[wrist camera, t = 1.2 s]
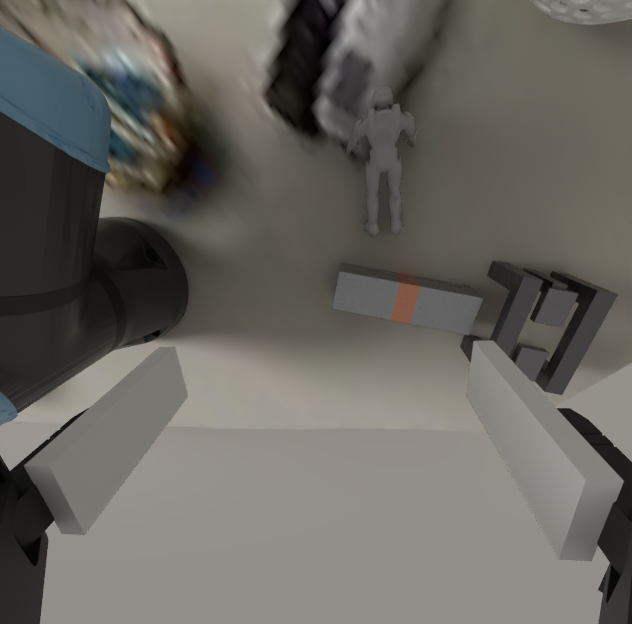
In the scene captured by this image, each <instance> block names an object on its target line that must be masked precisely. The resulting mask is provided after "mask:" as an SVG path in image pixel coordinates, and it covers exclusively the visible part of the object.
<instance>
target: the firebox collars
mask: <svg viewBox="0 0 632 624" xmlns="http://www.w3.org/2000/svg"><path fill="white" fill-rule="evenodd" d="M487 276H489V277H490V278H492V279H493V280H495V281H496V282H498V283H499V284H501V285H502V286H504V287H505V288H507V289H508V290H510V292H509V295H508V297H507V300H506V302H505V304H504V307H503V309H502V312H501V314H500V316H499V319H498V321H497V324H496V326H495V328H494V331H493V333H492V336H491V338H490V340H489V341H494V342H495V343H496V344H497V345H498V346H499V347H500V348H501V350H502V351H503V352H504V353H505V354H506V355H507V356H508V357H509V358H510V359H511V360H512V361H513V362H514V363H515V365H516V366H517V367H518V368H519V369H520V370H521V371H522V372H523V373H524V374H525V375H526V376H527V377H528V379H529V380H530V381H533V382H534V381H535V382H536V383H537V384H538V385H539V386H540V387H541V388H542V389H543V390H544V391H545V392H550V393H555V394H560V395H562V394H563V392H564V390H565V389H566V387H567V385H568V383H569V381H570V380H571V378H572V376H573V374H574V372H575V371H576V369H577V367H578V365H579V363H580V362H581V360H582V358H583V356H584V354H585V353H586V351H587V349H588V347H589V345H590V344H591V342H592V340H593V338H594V336H595V335H596V333H597V331H598V329H599V327H600V326H601V324H602V322H603V320H604V318H605V317H606V315H607V313H608V311H609V309H610V308H611V306H612V304H613V302H614V301H615V299H616V297H617V295H618V294H616V293H613V292H611V291H608V290H606V289H604V288H601V287H599V286H596V285H594V284H591V283H589V282H586V281H584V280H581V279H579V278H576V277H574V276H572V275H569V274H564V273H559V272H553V271H552V273H551V276H550V277H549V276H547V275H545V274H542V273H540V272H538V271H536V270H531V269H525V268H524V269H523V270H521V269H519V268H517V267H515V266H513V265H511V264H509V263H503V262H498V261H493V262H492V264H491V267H490V270H489V272H488V275H487ZM539 291H541V292H542V293H541V295H540V297H539V299H538V302H537V304H536V306H535V308H534V310H533V313H532V315H531V317H530V319H531V320H532V321H533V322H536V323H541V324H546V325H552V326H557V327H562V326H563V324H564V322H565V320H566V318H567V316H568V314H569V312H570V310H571V308H572V306H573V304H574V302H577V303H579V305H578V307H577V309H576V311H575V313H574V315H573V317H572V319H571V321H570V323H569V325H568V327H567V329H566V331H565V333H564V334H563V336H562V338H561V340H560V342H559V344H558V346H557V348H556V350H555V352H554V354H553V356H552V358H551V360H550V362H548V361H547V360H546V358H547V356H548V354H549V352H547V351H546V350H545V349H543V348H538V347H533V346H528V345H523V344H518V345H517V348H516V350H515V352H514V354H513V353H512V352H511V351H512V349H513V347H514V345H515V343H516V340H517V338H518V336H519V334H520V332H521V329H522V327H523V325H524V323H525V320H526V318H527V316H528V314H529V312H530V309H531V307H532V305H533V303H534V301H535V298H536V296H537V294H538V292H539ZM474 341H482V340H481V339H480V338H479V337H476V336H470V335H465V336H464V338H463V341H462V343H461V346H460V347H461V349H462V350H463V352H464V353H465V355H466V356H467V358H468V359H469V361H470V363H471V357H472V349H473V342H474Z"/></svg>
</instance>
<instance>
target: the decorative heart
mask: <svg viewBox="0 0 632 624" xmlns="http://www.w3.org/2000/svg"><path fill="white" fill-rule="evenodd" d="M529 1H530V2H532V3H533V4H534V5H535V6H536V7H538V8H539V9H540V10H541V11H543V12H544V13H546V14H547V15H549V16H550V17H552V18H554V19H557V20H560V21H563V22H566V23H570V24H582V25H598V24H605V23H613V22H620V21H624V20H629V19H632V0H529ZM560 2H562V4H561V3H560ZM582 9H586V10H588V11H586V12H582V11H579V10H582Z"/></svg>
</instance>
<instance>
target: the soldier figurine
mask: <svg viewBox="0 0 632 624" xmlns="http://www.w3.org/2000/svg"><path fill="white" fill-rule="evenodd" d="M392 105H393V108H392V109H389V108H390V107H392ZM372 107H373V108H369V109H368V117H366V118H365V119H364V120H363V119H359V120H358V121H357V122H356V123H355V124H354V126H353V130H352V134H351V137H349V139H348V141H347V144H348V147H347V148H346V149H347V155H348V156H349V155H350V153H351V150H352V152H354V150H353V148H356V149H357V145H358V144H359V140H360V139H361V138H362V137H363V136H364V135H367V137H368V141H369V143H370V145H371V146H372V150H370V151H369V153H370V160H369V161H368V160H367V161H366V172H365V178H366V185H367V192H368V194H367V211H368V222H367V223H366V224H365V228H364V230H365V231H368V234H369V235H370V236H377V235H379V234H380V233H379V227H378V223H377V221H378V212H379V198H378V193H377V192H378V190H379V187H380V184H379V182H380V176H381V172H386V175H387V180H388V182H387V186H388V188H389V199H388V206H389V209H390V213H391V219H392V220H391V224H390V233H392V234H397V233H400V232H401V227H403V226H404V225H403V221H402V220H401V213H400V210H401V206H402V199H401V196H400V191H399V189H400V181H401V180H402V164H401V156H398V157H397V150H398V148H397V147H396V146H395V143H396V142H397V140H398V137H399V135H400V131H401V130H403V131H404V133H405V137H406V138H405V139H404V142H405V141H406V140H408V142H407V144H408V143H409V141H410V145H411V143H412V145H411V146H413V147H414V145H415V139H416V138H415V137H416V136H417V129H416V128H415V125H414V123H415V122H414V117H413V115H411V114H410V113H408V112H403V113H404V114H403V113H402V112H400V104H393V95H392V92H391V90H390V87H389V86H380V87H378V88H376V89H375V92H374V93H373V103H372ZM375 110H377V111H375ZM349 152H350V153H349Z"/></svg>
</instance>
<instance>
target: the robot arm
mask: <svg viewBox="0 0 632 624" xmlns="http://www.w3.org/2000/svg"><path fill="white" fill-rule="evenodd" d="M110 127H111V112H110V108H109V105H108V102H107V100H106V98H105V96H104V95H103V93H102V92H101V91H100V89H99V88H98V87H97V86H96V85H95V84H94V83H93V82H92V81H91V80H90V79H88V78H87V77H86V76H84V75H83V74H81V73H80V72H78V71H76V70H75V69H73V68H71V67H70V66H68V65H66V64H65V63H63V62H61V61H60V60H58V59H56V58H54V57H53V56H51V55H49V54H48V53H46V52H44V51H42V50H41V49H39V48H37V47H36V46H34V45H32V44H31V43H29V42H27V41H25V40H24V39H22V38H20V37H18V36H17V35H15V34H13V33H11V32H10V31H8V30H6V29H4V28H3V27H1V26H0V425H2V424H4V423H6V422H9V421H12V420H13V419H14V418H16V417H17V416H18V415H17V414H18V413H19V412H21V411H22V410H24V409H25V408H27V407H28V406H30V405H31V404H33V403H34V402H36V401H37V400H39V399H40V398H42V397H43V396H45V395H46V394H48V393H49V392H51V391H52V390H54V389H55V388H57V387H58V386H60V385H62V384H63V383H65V382H66V381H68V380H69V379H71V378H72V377H74V376H75V375H77V374H78V373H80V372H81V371H83V370H84V369H86V368H87V367H89V366H90V365H92V364H93V363H95V362H96V361H98V360H99V359H101V358H102V357H104V356H105V355H107V354H108V353H110V352H111V351H113V350H117V349H121V348H126V347H130V346H135V345H139V344H143V343H147V342H151V341H153V340H155V339H157V338H159V337H161V336H163V335H164V334H165V333H167V332H168V331H169V330H171V329H172V328H173V327H174V326H175V325H176V324H177V323H178V322H179V321H180V320H181V318H182V316H183V314H184V312H185V310H186V306H187V302H188V283H187V278H186V274H185V271H184V269H183V266H182V264H181V262H180V260H179V258H178V256H177V255H176V253H175V252H174V250H173V249H172V248H171V246H170V245H169V244H168V243H167V242H166V241H165V240H164V239H163V238H162V237H161V236H160V235H159V234H157V233H156V232H155V231H153V230H152V229H150V228H149V227H147V226H145V225H144V224H142V223H139V222H137V221H134V220H131V219H127V218H122V217H107V218H99V213H100V206H101V200H102V193H103V187H104V180H105V174H106V173H108V172H109V170H110V165H109V163H108V162H107V160H108V149H109V138H110ZM466 396H467V398H468V399H469V401H470V403H471V405H472V407H473V408H474V410H475V412H476V414H477V415H478V417H479V419H480V421H481V423H482V424H483V426H484V428H485V430H486V431H487V433H488V435H489V436H490V439H491V440H492V442H493V444H494V446H495V447H496V449H497V451H498V453H499V455H500V456H501V458H502V460H503V462H504V463H505V465H506V467H507V469H508V471H509V472H510V474H511V476H512V478H513V479H514V481H515V483H516V485H517V486H518V488H519V490H520V492H521V493H522V495H523V497H524V499H525V501H526V502H527V504H528V506H529V508H530V509H531V511H532V513H533V515H534V517H535V518H536V520H537V522H538V524H539V526H540V527H541V529H542V531H543V533H544V534H545V536H546V538H547V540H548V542H549V543H550V545H551V547H552V549H553V550H554V552H555V554H556V556H557V557H558V559H561V560H563V559H564V560H580V561H582V560H583V561H592V559H593V556H594V554H595V551H596V549H597V546H599V547H600V549H601V550H602V551H603V553H604V554H605V556H606V557H607V559H608V560H609V562H610V564H609V566H608V569H607V571H606V573H605V575H604V578H603V580H602V582H601V584H600V587H599V589H598V590H599V591H601V592H603V598H602V604H601V611H600V617H599V624H632V462H631V461H630V460H629V459H628V458H627V457H626V456H625V455H624V454H623V453H622V452H621V451H620V450H619V449H618V448H617V447H614V446H613V443H612V442H611V441H610V440H609V439H608V438H607V437H605V436H603V435H602V433H601V432H600V431H599V430H598V429H597V428H596V427H595V426H594V425H593V424H592V423H591V422H590V421H589V420H588V419H586V418H585V417H583V416H581V415H580V414H578V413H576V412H575V411H573V410H571V409H567V408H562V409H561V408H555V406H554V405H553V404H552V403H551V402H550V401H549V400H548V399H547V398H546V397H545V396H544V395H543V394H542V393H541V391H540V390H539V389H538V388H537V387H536V386H535V385H534V384H533V383H532V382H531V381H530V380H529V379H528V377H527V376H526V375H525V374H524V373H523V372H522V371H521V370H520V369H519V368H518V367H517V366H516V365H515V363H514V362H513V361H512V360H511V359H510V358H509V357H508V356H507V355H506V354H505V353H504V352H503V351H502V350H501V348H500V347H499V346H498V345H497V344H496V343H495V342H494V341H474V342H473V349H472V357H471V365H470V372H469V380H468V387H467V395H466ZM187 397H188V393H187V390H186V386H185V382H184V379H183V375H182V371H181V367H180V364H179V360H178V356H177V352H176V349H175V347H159V348H158V349H157V350H155V351H154V352H153V353H152V354H151V355H150V356H149V357H147V358H146V359H145V360H144V361H143V362H142V363H141V364H139V365H138V366H137V367H136V368H135V369H134V370H133V371H131V372H130V373H129V374H128V375H127V376H126V377H125V378H123V379H122V380H121V381H120V382H119V383H118V384H117V385H115V386H114V387H113V388H112V389H111V390H110V391H109V392H107V393H106V394H105V395H104V396H103V397H102V398H101V399H99V400H98V401H97V402H96V403H95V404H94V405H93V406H91V407H90V408H88V409H86V410H85V411H83V412H81V413H79V414H78V415H76V416H74V417H73V418H72V419H70V420H69V421H68V422H67V423H66V424H65V425H63V426H62V427H61V428H60V430H58V431H57V432H55V433H54V434H53V435H52V436H51V437H50V439H49V440H46V441H45V442H44V443H43V444H41V445H40V446H39V447H38V448H37V449H35V450H34V451H33V452H32V453H31V454H30V455H28V456H27V457H26V458H25V459H24V460H22V461H21V462H20V463H19V464H18V465H17V466H16V467H14V468H13V469H12V470H11V471H9V469H8V468H7V466H6V464H5V463H4V461H3V460H2V458H1V456H0V624H40V616H41V606H42V597H43V586H44V578H45V577H44V576H45V568H46V558H47V549H48V537H47V534H46V532H45V530H46V529H47V528H48V527H49V526H50V524H51V523H52V522H53V521H55V523H56V524H57V526H58V528H59V530H60V531H61V533H62V534H79V535H85V534H86V533H87V531H88V530H89V528H90V527H91V526H92V525H93V523H94V522H95V521H96V519H97V518H98V517H99V515H100V514H101V513H102V511H103V510H104V509H105V507H106V506H107V505H108V503H109V502H110V500H111V499H112V498H113V496H114V495H115V494H116V492H117V491H118V490H119V488H120V487H121V486H122V484H123V483H124V482H125V480H126V479H127V478H128V476H129V475H130V474H131V472H132V471H133V470H134V468H135V467H136V466H137V464H138V463H139V461H140V460H141V459H142V458H143V456H144V454H146V452H147V451H148V449H149V448H150V447H151V445H152V444H153V443H154V441H155V440H156V439H157V437H158V436H159V435H160V433H161V432H162V431H163V429H164V428H165V427H166V425H167V424H168V423H169V421H170V420H171V419H172V417H173V416H174V415H175V413H176V412H177V411H178V409H179V408H180V406H181V405H182V404H183V402H184V401H185V400H186V398H187Z"/></svg>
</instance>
